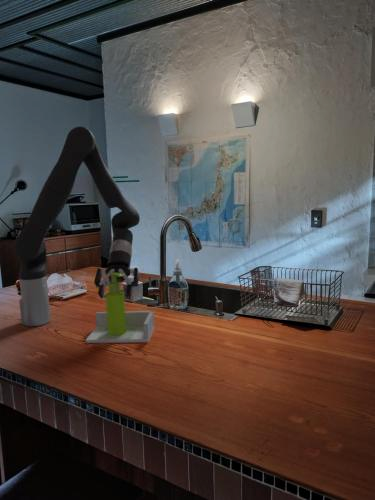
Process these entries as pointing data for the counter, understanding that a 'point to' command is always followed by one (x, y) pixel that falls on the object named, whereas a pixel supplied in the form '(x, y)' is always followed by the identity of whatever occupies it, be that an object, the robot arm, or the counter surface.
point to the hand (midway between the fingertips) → (114, 297)
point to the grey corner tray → (136, 328)
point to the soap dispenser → (115, 307)
